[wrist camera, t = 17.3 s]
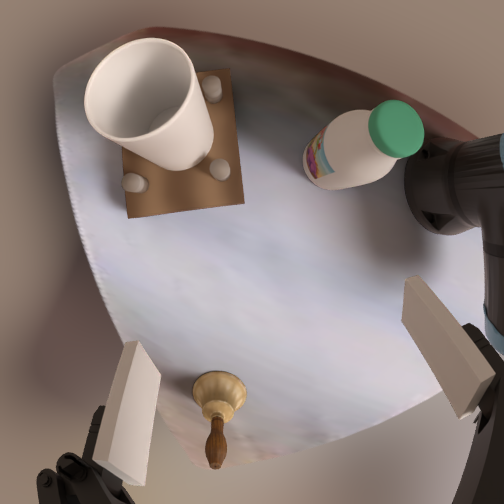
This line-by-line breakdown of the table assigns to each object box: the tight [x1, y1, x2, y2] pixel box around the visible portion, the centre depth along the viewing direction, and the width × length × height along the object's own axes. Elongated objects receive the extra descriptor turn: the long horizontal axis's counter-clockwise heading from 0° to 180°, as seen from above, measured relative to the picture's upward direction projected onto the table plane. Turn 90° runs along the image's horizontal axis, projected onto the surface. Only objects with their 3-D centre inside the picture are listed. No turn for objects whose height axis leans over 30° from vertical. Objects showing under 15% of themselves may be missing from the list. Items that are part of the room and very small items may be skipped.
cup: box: [84, 38, 214, 171], centre depth 25 cm, size 8×8×16 cm
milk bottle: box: [303, 100, 424, 190], centre depth 29 cm, size 8×8×20 cm
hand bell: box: [193, 371, 247, 469], centre depth 35 cm, size 8×8×16 cm
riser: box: [121, 68, 245, 219], centre depth 33 cm, size 14×17×9 cm
